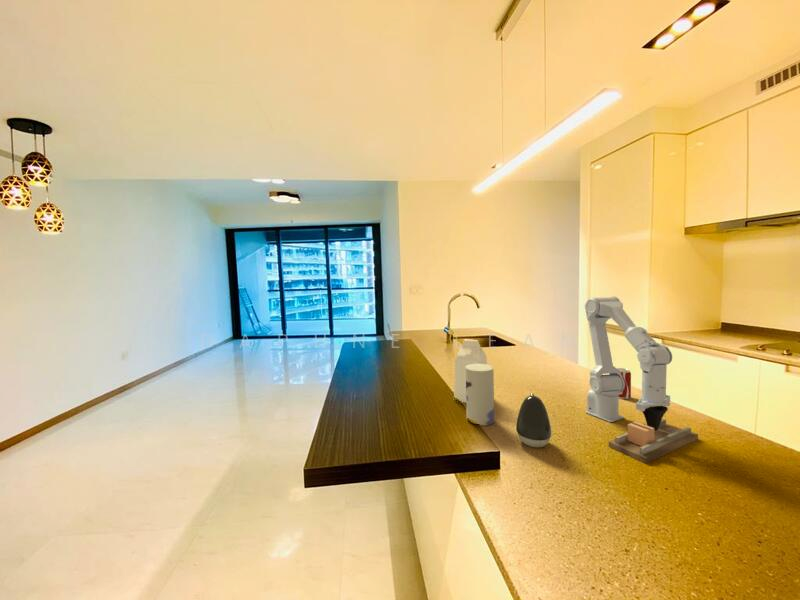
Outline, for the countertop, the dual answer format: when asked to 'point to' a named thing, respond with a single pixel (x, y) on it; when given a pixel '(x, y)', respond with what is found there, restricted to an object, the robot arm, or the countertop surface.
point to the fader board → (655, 442)
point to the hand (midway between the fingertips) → (652, 428)
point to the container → (480, 393)
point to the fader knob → (640, 433)
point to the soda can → (626, 383)
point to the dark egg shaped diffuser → (533, 422)
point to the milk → (466, 356)
